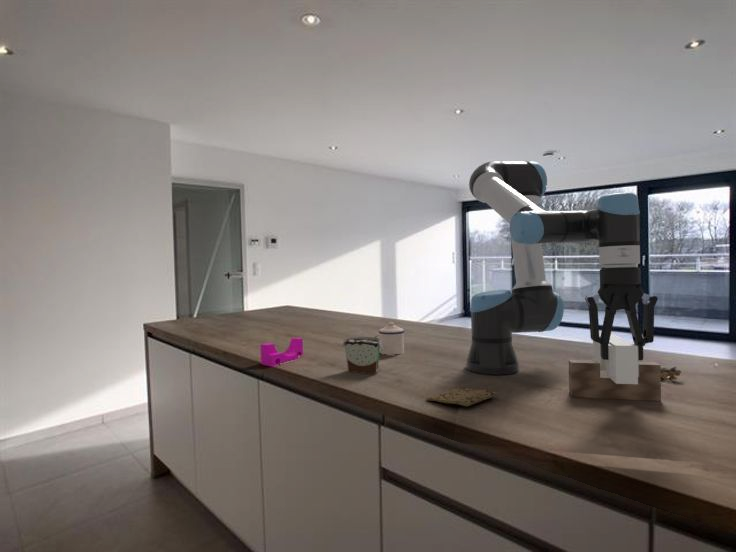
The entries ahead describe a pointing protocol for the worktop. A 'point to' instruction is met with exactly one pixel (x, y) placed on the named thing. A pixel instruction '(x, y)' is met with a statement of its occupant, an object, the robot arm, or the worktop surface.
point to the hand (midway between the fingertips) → (622, 374)
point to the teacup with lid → (391, 339)
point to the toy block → (273, 357)
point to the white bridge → (620, 360)
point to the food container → (362, 354)
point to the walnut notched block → (592, 386)
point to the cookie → (462, 396)
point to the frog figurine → (669, 374)
